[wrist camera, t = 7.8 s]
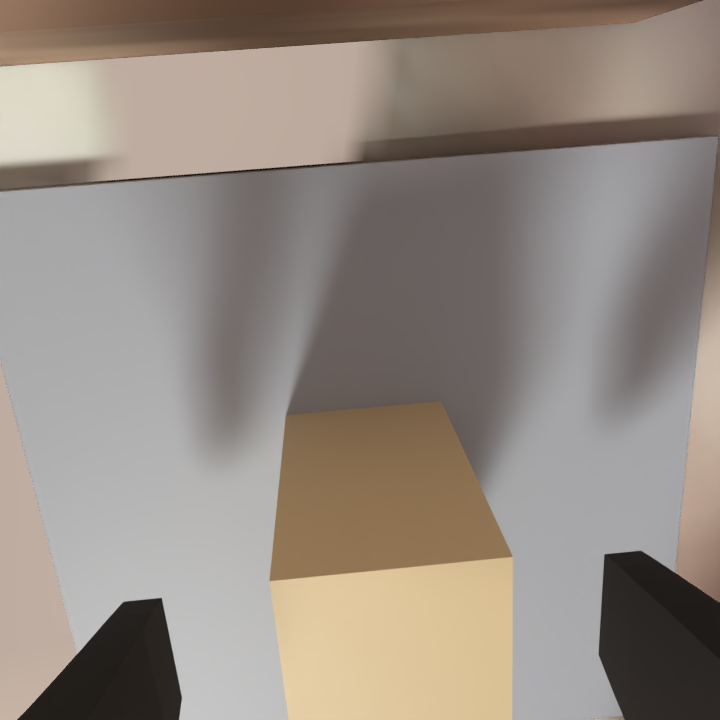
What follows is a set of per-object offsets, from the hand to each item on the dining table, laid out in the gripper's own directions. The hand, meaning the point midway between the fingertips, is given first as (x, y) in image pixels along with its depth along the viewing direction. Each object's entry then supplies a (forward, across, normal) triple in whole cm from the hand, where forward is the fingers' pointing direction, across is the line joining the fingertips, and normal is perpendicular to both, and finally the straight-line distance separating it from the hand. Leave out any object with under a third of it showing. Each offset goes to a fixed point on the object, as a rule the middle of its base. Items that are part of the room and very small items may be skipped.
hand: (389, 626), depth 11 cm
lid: (+4, 0, -1) cm, 4 cm away
